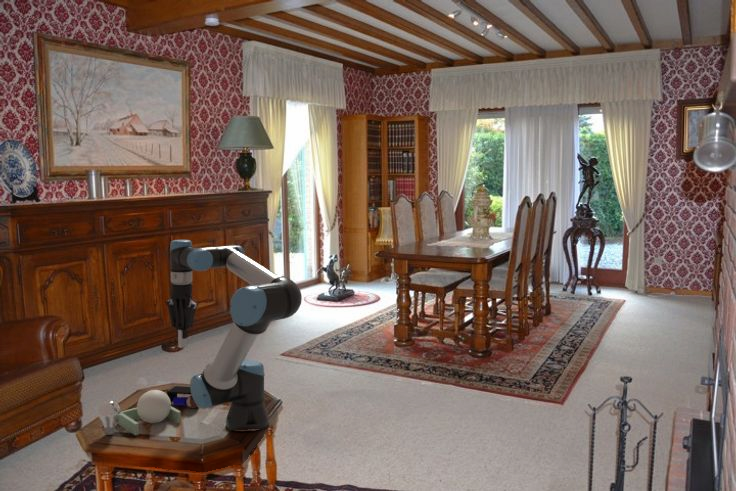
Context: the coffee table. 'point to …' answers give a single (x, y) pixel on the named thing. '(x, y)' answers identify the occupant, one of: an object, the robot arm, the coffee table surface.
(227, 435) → the coffee table surface
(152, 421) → the ball
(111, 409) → the light bulb
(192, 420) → the coffee table surface
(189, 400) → the figurine character
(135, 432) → the green u-shaped channel
